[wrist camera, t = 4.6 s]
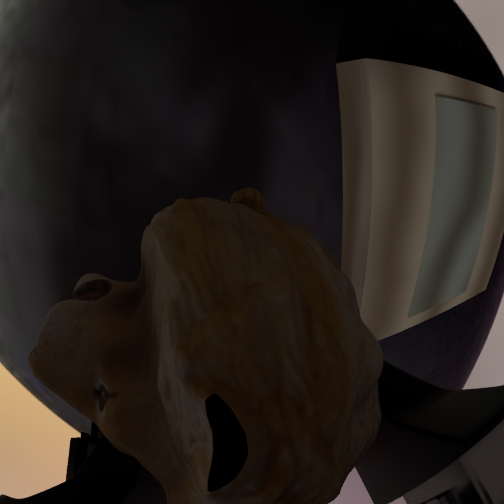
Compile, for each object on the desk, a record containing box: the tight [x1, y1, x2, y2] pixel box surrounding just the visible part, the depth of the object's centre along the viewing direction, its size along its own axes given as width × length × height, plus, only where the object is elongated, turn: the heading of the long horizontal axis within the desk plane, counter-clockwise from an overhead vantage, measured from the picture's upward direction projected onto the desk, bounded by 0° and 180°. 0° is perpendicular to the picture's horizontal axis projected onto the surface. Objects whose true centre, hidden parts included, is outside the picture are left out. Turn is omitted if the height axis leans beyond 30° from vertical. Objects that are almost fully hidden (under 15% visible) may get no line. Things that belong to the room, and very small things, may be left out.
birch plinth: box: [336, 58, 504, 341], centre depth 16 cm, size 16×18×3 cm
